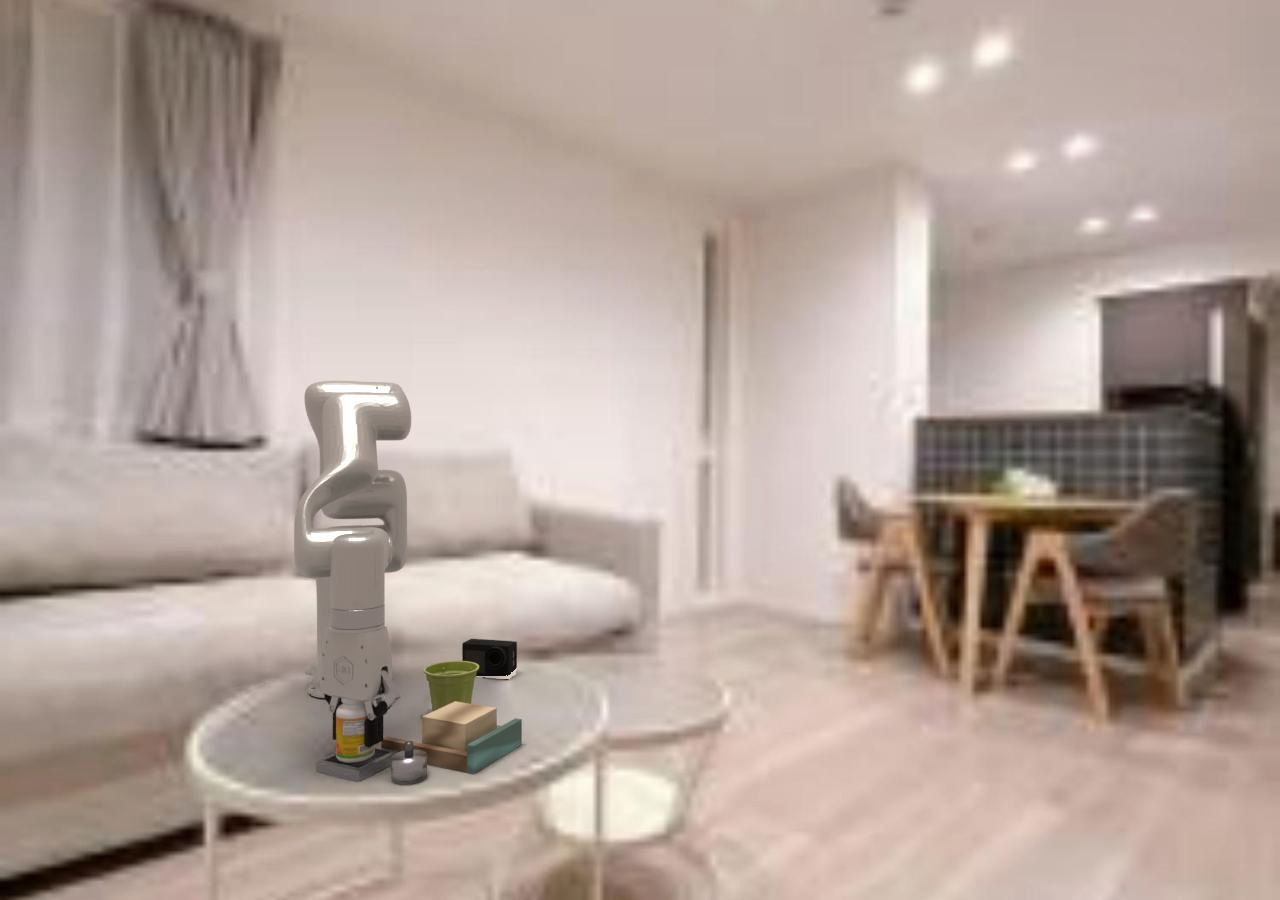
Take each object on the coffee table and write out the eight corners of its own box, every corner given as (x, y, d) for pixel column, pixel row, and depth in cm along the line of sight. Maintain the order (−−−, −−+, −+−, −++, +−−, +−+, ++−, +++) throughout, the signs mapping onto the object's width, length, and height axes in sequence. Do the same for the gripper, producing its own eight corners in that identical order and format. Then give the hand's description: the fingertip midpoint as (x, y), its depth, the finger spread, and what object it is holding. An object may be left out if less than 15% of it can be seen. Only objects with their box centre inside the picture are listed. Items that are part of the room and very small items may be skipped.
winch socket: (315, 771, 115) (315, 737, 115) (357, 752, 123) (357, 719, 123) (402, 791, 108) (402, 755, 108) (441, 769, 116) (441, 735, 116)
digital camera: (458, 678, 162) (458, 644, 162) (470, 671, 167) (470, 637, 167) (506, 682, 159) (506, 647, 159) (516, 674, 165) (516, 640, 165)
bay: (381, 754, 121) (381, 715, 121) (434, 728, 133) (434, 692, 133) (474, 774, 114) (473, 732, 114) (521, 744, 126) (521, 706, 126)
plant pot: (423, 711, 142) (423, 662, 142) (477, 706, 144) (476, 658, 144) (423, 729, 133) (423, 677, 133) (481, 723, 135) (481, 672, 135)
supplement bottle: (342, 749, 119) (342, 684, 119) (378, 748, 120) (378, 684, 120) (331, 763, 114) (331, 696, 114) (369, 762, 114) (369, 695, 114)
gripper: (294, 617, 117) (295, 740, 117) (384, 628, 110) (385, 759, 110) (333, 608, 124) (334, 724, 124) (421, 618, 117) (421, 741, 117)
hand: (358, 739), depth 117 cm, fingers closed on supplement bottle, 5 cm apart
